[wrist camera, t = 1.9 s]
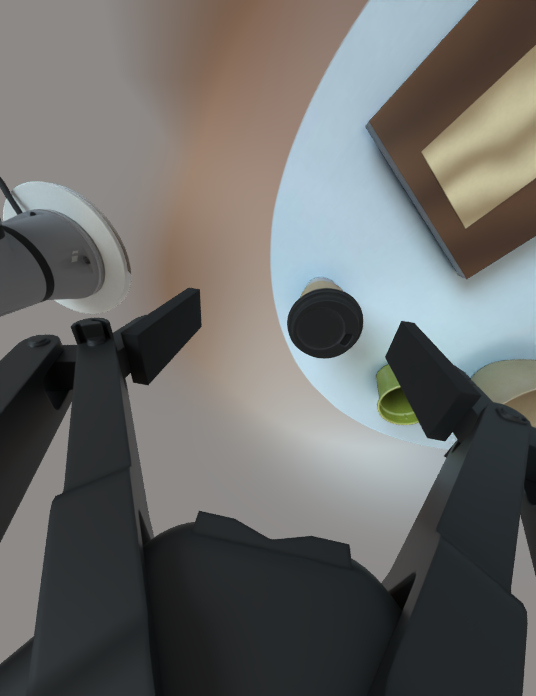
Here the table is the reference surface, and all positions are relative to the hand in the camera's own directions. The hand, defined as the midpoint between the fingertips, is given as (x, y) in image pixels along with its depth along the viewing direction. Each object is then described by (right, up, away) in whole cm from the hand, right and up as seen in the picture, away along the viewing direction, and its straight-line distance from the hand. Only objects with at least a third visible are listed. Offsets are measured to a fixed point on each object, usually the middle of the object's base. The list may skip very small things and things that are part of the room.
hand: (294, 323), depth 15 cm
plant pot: (+23, -7, +32) cm, 40 cm away
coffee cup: (+7, +8, +25) cm, 28 cm away
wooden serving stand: (+24, +22, +14) cm, 36 cm away
